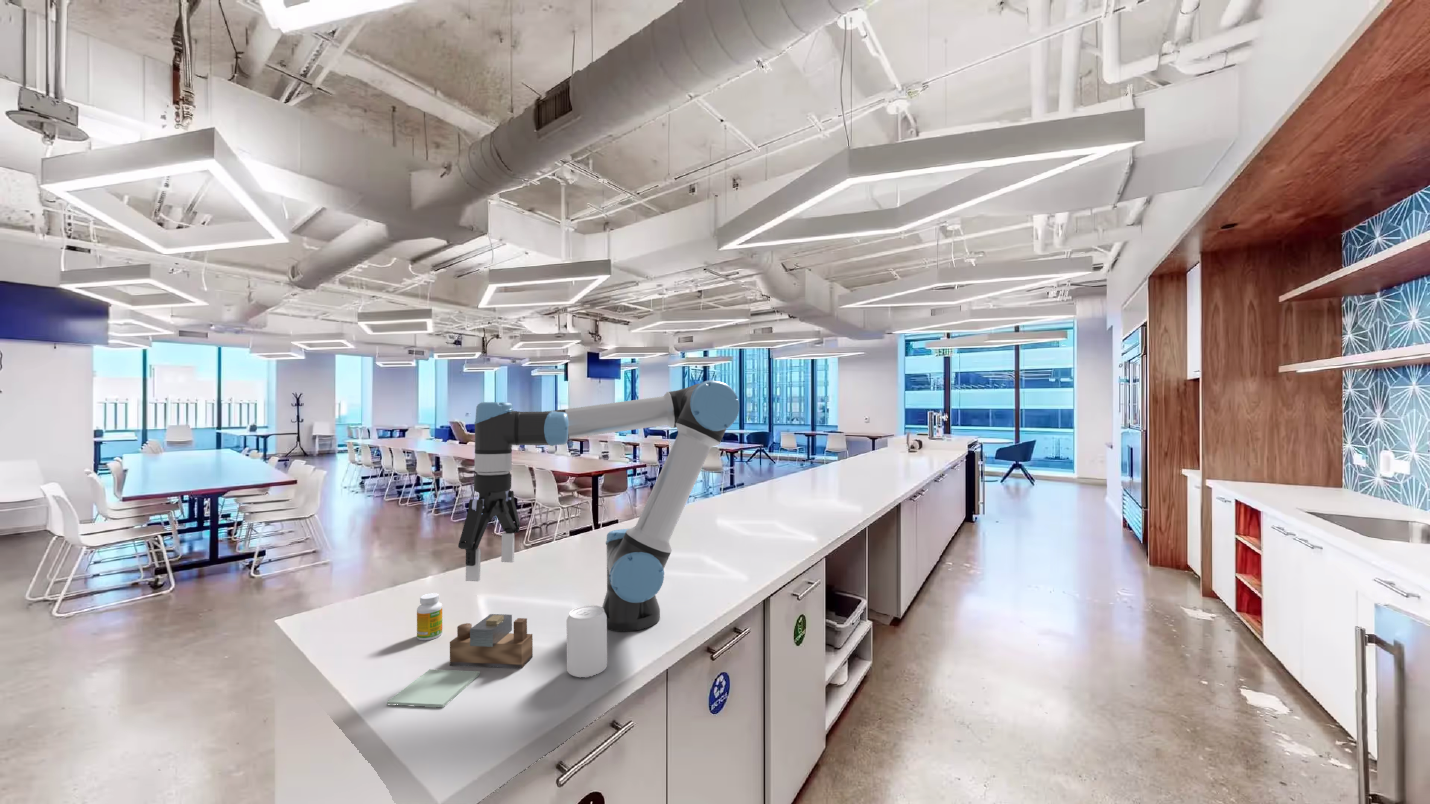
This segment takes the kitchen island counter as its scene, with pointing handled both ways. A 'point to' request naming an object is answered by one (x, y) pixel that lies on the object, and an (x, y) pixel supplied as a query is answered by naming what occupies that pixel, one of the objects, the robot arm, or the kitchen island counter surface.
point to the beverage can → (586, 641)
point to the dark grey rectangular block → (490, 630)
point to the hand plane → (493, 649)
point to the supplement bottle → (429, 617)
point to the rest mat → (434, 688)
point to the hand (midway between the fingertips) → (491, 570)
